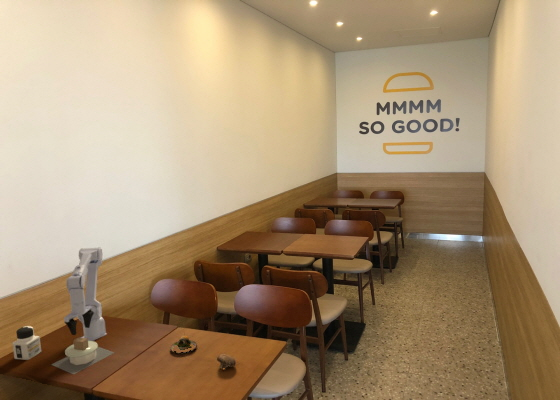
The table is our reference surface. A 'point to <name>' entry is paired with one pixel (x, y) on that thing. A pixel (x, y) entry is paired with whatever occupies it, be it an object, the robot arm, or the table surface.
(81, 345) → the lid
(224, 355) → the mushroom
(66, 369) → the mat
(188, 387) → the table surface
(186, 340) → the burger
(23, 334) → the container
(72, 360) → the bowl
